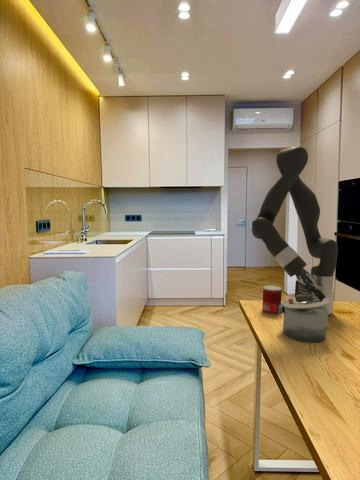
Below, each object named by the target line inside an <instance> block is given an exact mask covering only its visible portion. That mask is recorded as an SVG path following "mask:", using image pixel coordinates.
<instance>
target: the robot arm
mask: <svg viewBox="0 0 360 480" xmlns="http://www.w3.org/2000/svg"><path fill="white" fill-rule="evenodd" d="M275 159H276V160H275V161H276V166H277V168H278V171H279V174H280V175H281V176H280V178H279V179H278V180H277V181H276V182H275V183H274V185H272V187H271V188H270V189H269V191H268V192H267V194H266V195H265V197H264V200H263V202H262V204H261V206H260V211H259V213H258V215H257V217H256V219H253V222H252V225H251V233H252V235H253V236H254V238H256V239H258V240H261V241H262V242H263V243H264V244H265V247H266V249H267V251H268V252H269V253H270V254H271V255H272V257H273V258H274V259H275V260H276V262H277V263H278V264H279V265H280V267H281V268H282V269H283V271H285V273H287V275H288V276H289V277H290V278H292V277H293V276H295V277H296V279H297V280H298V281H299V282H300V283H299V285H301V286H302V287H303V288H305V289H306V290H307V291H309V292H312V293H313V292H314V294H315V295H316V296H317V298H318V299H319V300H320V301H321V300H323V299H324V298H325V297H327V298H328V299H329V303H328V304H326V305H324V306H322V307H324V308H326V309H327V310H328V316H330V315H331V314H333V312H334V311H333V310H334V297H335V296H334V295H335V291H333V289H334V288H333V287H334V286H333V285H334V273H335V270H336V268H337V260H338V254H339V253H338V252H339V247H338V244H337V242H336V241H335V240H334V239H331V238H325V237H322V235H321V234H320V231H319V227H318V225H319V219H320V215H321V207H320V204H319V201H318V198H317V196H316V194H315V193H314V191H313V190H312V189H311V188H310V187H309V186H308V185H307V184H306V183H305V182H304V181H303V180H302V179H301V177H300V175H301V174H302V172H303V170H304V169H305V168H306V166H307V164H308V159H309V154H308V151H307V150H306V148H305V147H303V146H292V147H288V148H284V149H281V150H280V151H279V152H278V153H277V155H276V158H275ZM288 194H289V195H290V197H291V200H292V203H293V206H294V209H295V211H296V215H297V217H298V219H299V222H300V225H301V228H302V230H303V231H302V232H303V235H304V239H305V243H306V246H307V251H308V253H309V254H310V256H311V257H312V258H315V259H319V264H318V265H314V266H312V267H311V269H310V272H309V271H307V270H306V269H305V267H306V266H307V263H306V261H304V259H303V258H302V257H301V256H300V255H299V254H298V252H297V251H295V249H293V247H291V245H289V243H287V241H286V240H285V239H284V238H283V237H282V236H281V235H280V233H279V232H278V230H277V229H276V227H275V226H274V222H275V221H276V218H277V216H278V215H279V212H280V211H281V208H282V206H283V203H284V201H285V199H286V197H287V195H288ZM318 283H320V284H322V291H321V290H320V289H318V288H319V285H318Z"/></svg>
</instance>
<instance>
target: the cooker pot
mask: <svg viewBox="0 0 360 480" xmlns="http://www.w3.org/2000/svg"><path fill="white" fill-rule="evenodd" d="M278 313H279V314H281V315H283V320H282V321H283V322H282V323H283V324H282V334H283V335H284V336H285V337H286V338H288V339H291V340H292V339H293V340H292V341H295V340H296V342H299V341H300V342H301V343H304V342H305V343H307V344H319V343H323V342H325V341H326V340H327V328H328V316H329V315H328V310H327V309H326V308H324V307H322V306H321V307H316V308H309V309H291V308H286V307H284V306H283V303H282V302H281V305H279V306H278Z"/></svg>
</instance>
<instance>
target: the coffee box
mask: <svg viewBox="0 0 360 480" xmlns="http://www.w3.org/2000/svg"><path fill="white" fill-rule="evenodd" d="M299 283H300V282H299V281H298V279H296V280H295V287H294V288H295V289H294V297H295V296H296V295H315V294H314V292H313V293H312V292H309V291H307V290H306V289H305V288H303V287H302V286H301V285H299ZM318 285H319V288H318V289H320V290H321V291H322V284H320V283H318Z"/></svg>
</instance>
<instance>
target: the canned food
mask: <svg viewBox="0 0 360 480" xmlns="http://www.w3.org/2000/svg"><path fill="white" fill-rule="evenodd" d="M282 290H283V289H282V287H281V286H277V285H270V284H269V285H264V286H263V287H262V306H261V307H262V309H261V310H262V311H263V312H264V313H266V314H268V313H269V314H268V315H279V314H280V313H278V306H279V305H281V304H282V294H283V293H282Z"/></svg>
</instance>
